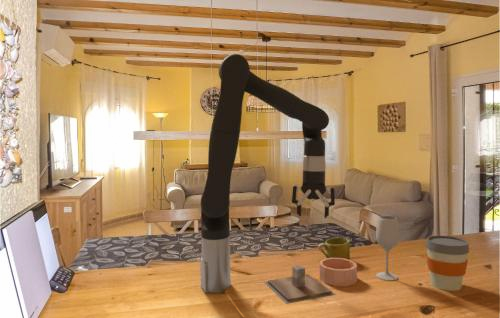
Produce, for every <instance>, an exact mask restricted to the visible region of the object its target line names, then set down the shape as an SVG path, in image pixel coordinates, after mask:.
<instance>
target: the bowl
mask: <svg viewBox="0 0 500 318" xmlns="http://www.w3.org/2000/svg"><path fill="white" fill-rule="evenodd" d="M319 280H320V282H322V283H324V284H326V285H330V286H334V287H347V286H353V285H354V284H356V283H357V282H358V264H357V263H356V262H355V261H353V260H351V259H350V260H348V259H344V258H326V257H325V258H323V259H322V260H320V261H319Z"/></svg>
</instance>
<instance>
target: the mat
mask: <svg viewBox="0 0 500 318" xmlns="http://www.w3.org/2000/svg"><path fill="white" fill-rule="evenodd" d="M263 283H264V284H265V285H266V286H267V287H269V289H271V291H272V292H273V293H274V294H275V295H277V297H278V298H279V299H281V301H283V302H284V303H285V304H287V305H289V304H293V303H299V302H303V301H308V300H316V299H319V298H325V297H331V296H336V295H337V293H335V292H333V291H332V294H327V295H322V296H316V297H311V298H305V299H300V300H294V301H289V302H288V301H287V300H286V299H285V298H283V297H282V296H281V295H280V294H279V293H278V292H277V291H276V290H275V289H274V288H273V287H272V286H271V285H270V284H269V283H268V281H264V282H263Z"/></svg>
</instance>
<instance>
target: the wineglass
mask: <svg viewBox="0 0 500 318" xmlns="http://www.w3.org/2000/svg"><path fill="white" fill-rule="evenodd" d="M375 238H376V241H377V244H378V245H379V246H380V247H381V249H384V251H385V254H386V255H385V271H380V272H376V274H375V277H376V278H377V277H378V278H377V279H380V280H383V281H386V282H387V281H389V282H390V281H396V280H398V279H399V277H398V275H397V274H395V273H392V272H389V253H390V251H391V250H393V249H394V248H395V247H396V246H397V245H398V243H399V242H400V227H399V222H398V217H396V216H393V215H380V216H378V218H377V224H376V229H375Z"/></svg>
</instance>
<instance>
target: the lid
mask: <svg viewBox="0 0 500 318" xmlns="http://www.w3.org/2000/svg"><path fill="white" fill-rule="evenodd" d="M291 268H292V271H291V272H292V273H291V275H292V276H288V277H282V278H277V279H276V278H275V279H269V280H267V282H268V283H269V284H270V285H271V286H272V287H273V288H274V289H275V290H276V291H277V292H278V293H279V294H280V295H281V296H282V297H283V298H285V299H286V300H287V301H288V302H289V301H294V300H300V299H305V298H311V297H316V296H322V295H327V294H332V292H333V291H332V290H331V289H329V288H328V287H327V286H325V285H324V284H323V283H321V282H320V281H318V280H317V279H315V278H314V277H312V276H311V275H310V274H309V273H308V274H306V267H304V266H303V265H299V264H298V265H293V266H292V267H291Z"/></svg>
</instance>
